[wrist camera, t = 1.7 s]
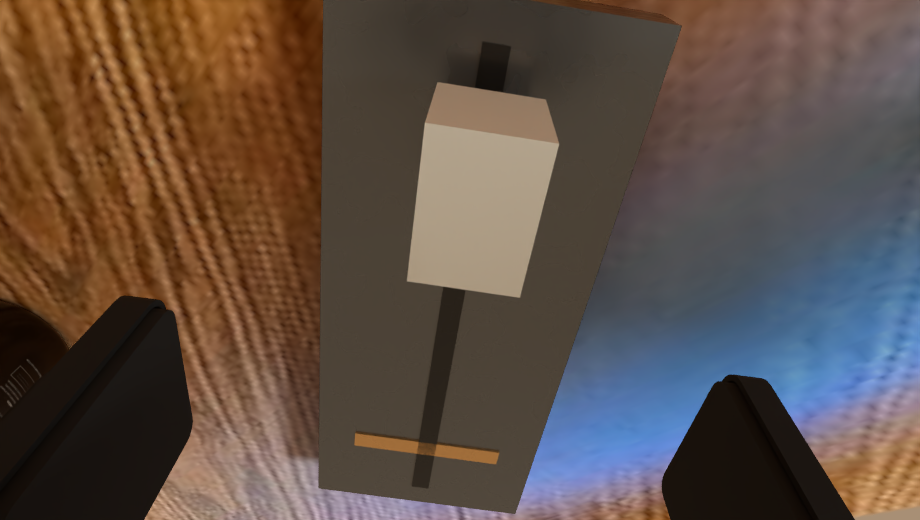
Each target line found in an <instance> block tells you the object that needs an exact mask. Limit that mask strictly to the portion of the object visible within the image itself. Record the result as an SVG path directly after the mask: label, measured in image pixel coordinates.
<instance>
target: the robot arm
mask: <svg viewBox="0 0 920 520" xmlns="http://www.w3.org/2000/svg"><path fill="white" fill-rule="evenodd" d="M192 423H193V419H192V412H191V406H190V400H189V395H188V389H187V383H186V377H185V371H184V365H183V359H182V354H181V348H180V342H179V336H178V330H177V324H176V319H175V315H174V313H173V311H171V310H166V308H165V305H164V303H163V302H162V301H160V300H156V299H148V298H141V297H133V296H121V297H119V298H118V299H117V300H116V301H115V302H114V303H113V304H112V305H111V306H110V307H109V308H108V309H107V310H106V311H105V312H104V313H103V315H102V316H101V317H100V318H99V319H98V320H97V321H96V322H95V323H94V324H93V325H92V326H91V327H90V328H89V329H88V331H87V332H86V333H85V334H84V335H83V336H82V337H81V338H80V339H79V340H78V341H77V342H76V343H75V344H74V345H73V347H72V348H71V349H70V350H69V351H68V352H67V353H66V354H65V355H64V356H63V357H62V358H61V359H60V360H59V361H58V362H57V364H56V365H55V366H54V367H53V368H52V369H51V370H50V371H49V372H47V373H45V374H44V375H43V376H42V377H40V378H39V379H38V380H37V381H36V382H35V383H34V384H33V385H32V386H31V387H30V388H29V389H28V390H27V391H26V392H25V393H24V395H23V396H22V397H21V398H20V399H19V400H18V401H17V402H16V403H15V404H14V405H13V406H12V407H11V408H10V409H9V410H8V411H7V412H6V414H5V415H4V416H3V417H2V418H1V419H0V520H144V519H145V517H146V515H147V513H148V512H149V510H150V508H151V506H152V504H153V503H154V501H155V499H156V497H157V495H158V493H159V492H160V490H161V488H162V486H163V484H164V483H165V481H166V479H167V477H168V475H169V474H170V472H171V470H172V468H173V466H174V464H175V463H176V461H177V459H178V457H179V455H180V454H181V452H182V450H183V448H184V446H185V445H186V443H187V441H188V439H189V436H190V433H191V430H192ZM662 493H663V497H664V500H665V504H666V507H667V510H668V513H669V516H670V519H671V520H855V519H854V518H853V516H852V514H851V513H850V511H849V510H848V508H847V506H846V505H845V503H844V502H843V500H842V498H841V497H840V495H839V494H838V492H837V490H836V489H835V487H834V486H833V484H832V482H831V481H830V479H829V478H828V476H827V474H826V473H825V471H824V470H823V468H822V466H821V465H820V463H819V462H818V460H817V458H816V457H815V455H814V454H813V452H812V450H811V449H810V447H809V446H808V444H807V442H806V441H805V439H804V438H803V436H802V434H801V433H800V431H799V430H798V428H797V426H796V425H795V423H794V422H793V420H792V418H791V417H790V415H789V414H788V412H787V410H786V409H785V407H784V406H783V404H782V402H781V401H780V399H779V398H778V396H777V394H776V393H775V391H774V390H773V388H772V386H771V385H770V384H769V383H768V382H767V381H766V380H764V379H762V378H755V377H747V376H740V375H728V376H726V377H725V378H724V379H723V380H722V381H718V382H716V383H715V384H714V385H713V386H712V388H711V390H710V392H709V393H708V395H707V397H706V399H705V401H704V403H703V404H702V406H701V408H700V410H699V412H698V413H697V415H696V417H695V419H694V421H693V423H692V424H691V426H690V428H689V430H688V432H687V433H686V435H685V437H684V439H683V441H682V442H681V444H680V446H679V448H678V450H677V452H676V453H675V455H674V457H673V459H672V461H671V462H670V464H669V466H668V468H667V470H666V471H665V473H664V476H663V479H662Z"/></svg>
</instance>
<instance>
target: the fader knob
mask: <svg viewBox="0 0 920 520" xmlns="http://www.w3.org/2000/svg"><path fill="white" fill-rule="evenodd" d="M558 147H559V141H558V138H557V135H556V131H555V128H554V125H553V122H552V118H551V115H550V112H549V108H548V105H547V102H546V99H539V98H533V97H527V96H521V95H515V94H508V93H502V92H496V91H490V90H484V89H478V88H471V87H465V86H459V85H453V84H447V83H440V82H437V86H436V89H435V92H434V95H433V98H432V102H431V105H430V108H429V111H428V114H427V118H426V121H425V126H424V135H423V144H422V153H421V161H420V170H419V179H418V188H417V196H416V205H415V214H414V223H413V231H412V240H411V249H410V258H409V266H408V275H407V281H409V282H416V283H423V284H429V285H436V286H443V287H450V288H457V289H463V290H470V291H477V292H484V293H491V294H497V295H504V296H511V297H518V298H520V295H521V291H522V287H523V283H524V279H525V275H526V272H527V268H528V264H529V260H530V256H531V252H532V248H533V244H534V240H535V236H536V233H537V229H538V225H539V221H540V217H541V213H542V209H543V205H544V201H545V197H546V194H547V190H548V186H549V182H550V178H551V174H552V170H553V166H554V162H555V158H556V155H557V151H558Z"/></svg>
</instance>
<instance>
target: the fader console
mask: <svg viewBox="0 0 920 520" xmlns="http://www.w3.org/2000/svg"><path fill="white" fill-rule="evenodd" d="M681 27H682V26H681V25H679V24H678V23H676V22H674V21H672V20H671V19H669V18H667V17H666V16H664V15H662V14H656V13H650V12H644V11H639V10H633V9H627V8H621V7H615V6H609V5H603V4H597V3H591V2H585V1H579V0H323V82H322V184H321V286H320V389H319V488H321V489H329V490H336V491H344V492H352V493H359V494H367V495H374V496H382V497H390V498H397V499H405V500H412V501H420V502H428V503H435V504H443V505H451V506H458V507H466V508H473V509H481V510H489V511H496V512H504V513H512V514H515V513H516V510H517V507H518V504H519V501H520V498H521V495H522V492H523V489H524V486H525V484H526V481H527V478H528V475H529V472H530V469H531V466H532V463H533V460H534V457H535V454H536V451H537V448H538V446H539V443H540V440H541V437H542V434H543V431H544V428H545V425H546V422H547V419H548V416H549V413H550V410H551V408H552V405H553V402H554V399H555V396H556V393H557V390H558V387H559V384H560V381H561V378H562V375H563V372H564V369H565V367H566V364H567V361H568V358H569V355H570V352H571V349H572V346H573V343H574V340H575V337H576V334H577V331H578V329H579V326H580V323H581V320H582V317H583V314H584V311H585V308H586V305H587V302H588V299H589V296H590V293H591V291H592V288H593V285H594V282H595V279H596V276H597V273H598V270H599V267H600V264H601V261H602V258H603V255H604V252H605V250H606V247H607V244H608V241H609V238H610V235H611V232H612V229H613V226H614V223H615V220H616V217H617V214H618V212H619V209H620V206H621V203H622V200H623V197H624V194H625V191H626V188H627V185H628V182H629V179H630V176H631V173H632V171H633V168H634V165H635V162H636V159H637V156H638V153H639V150H640V147H641V144H642V141H643V138H644V135H645V133H646V130H647V127H648V124H649V121H650V118H651V115H652V112H653V109H654V106H655V103H656V100H657V97H658V95H659V92H660V89H661V86H662V83H663V80H664V77H665V74H666V71H667V68H668V65H669V62H670V59H671V56H672V54H673V51H674V48H675V45H676V42H677V39H678V36H679V33H680V30H681ZM437 82H440V83H447V84H453V85H459V86H465V87H471V88H478V89H484V90H490V91H496V92H502V93H508V94H515V95H521V96H527V97H533V98H539V99H546V102H547V105H548V108H549V112H550V115H551V118H552V122H553V125H554V128H555V131H556V135H557V138H558V141H559V147H558V151H557V155H556V158H555V162H554V166H553V170H552V174H551V178H550V182H549V186H548V190H547V194H546V197H545V201H544V205H543V209H542V213H541V217H540V221H539V225H538V229H537V233H536V236H535V240H534V244H533V248H532V252H531V256H530V260H529V264H528V268H527V272H526V275H525V279H524V283H523V287H522V291H521V295H520V298H518V297H511V296H504V295H497V294H491V293H484V292H477V291H470V290H463V289H457V288H450V287H443V286H436V285H429V284H423V283H416V282H409V281H407V275H408V266H409V258H410V249H411V240H412V231H413V223H414V214H415V205H416V196H417V188H418V179H419V170H420V161H421V153H422V144H423V135H424V126H425V121H426V118H427V114H428V111H429V108H430V105H431V102H432V98H433V95H434V92H435V89H436V86H437Z"/></svg>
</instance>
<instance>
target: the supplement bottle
mask: <svg viewBox="0 0 920 520" xmlns="http://www.w3.org/2000/svg"><path fill="white" fill-rule="evenodd" d="M68 351H69V349H68V347H67V345H66V343H65V341H64V340H63V339H62V337H61V336H60V335H59V334H58V332H57V331H56V330H55V329H54V328H53V327H51V326H50V325H49V324H48V323H47V322H45V321H44V320H43V319H41V318H40V317H38V316H37V315H35V314H33V313H31V312H30V311H28V310H26V309H23V308H21V307H19V306H16V305H13V304H10V303H6V302H2V301H0V419H1V418H2V417H3V416H4V415H5V414H6V412H7V411H8V410H9V409H10V408H11V407H12V406H13V405H14V404H15V403H16V402H17V401H18V400H19V399H20V398H21V397H22V396H23V395H24V393H25V392H26V391H27V390H28V389H29V388H30V387H31V386H32V385H33V384H34V383H35V382H36V381H37V380H38V379H39V378H40V377H42V376H43V375H44V374H45V373H47V372H49V371H50V370H51V369H52V368H53V367H54V366H55V365H56V364H57V362H58V361H59V360H60V359H61V358H62V357H63V356H64V355H65V354H66V353H67V352H68Z"/></svg>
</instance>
